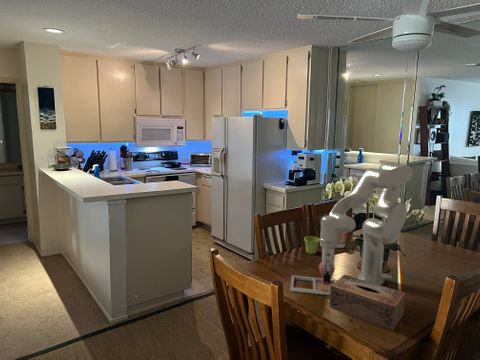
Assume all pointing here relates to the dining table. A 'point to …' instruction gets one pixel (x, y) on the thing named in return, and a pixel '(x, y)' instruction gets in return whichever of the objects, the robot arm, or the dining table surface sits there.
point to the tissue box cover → (368, 301)
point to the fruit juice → (341, 239)
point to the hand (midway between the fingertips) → (326, 278)
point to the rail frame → (317, 285)
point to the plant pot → (311, 244)
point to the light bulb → (323, 272)
